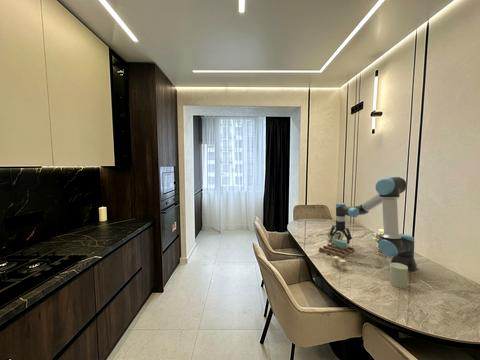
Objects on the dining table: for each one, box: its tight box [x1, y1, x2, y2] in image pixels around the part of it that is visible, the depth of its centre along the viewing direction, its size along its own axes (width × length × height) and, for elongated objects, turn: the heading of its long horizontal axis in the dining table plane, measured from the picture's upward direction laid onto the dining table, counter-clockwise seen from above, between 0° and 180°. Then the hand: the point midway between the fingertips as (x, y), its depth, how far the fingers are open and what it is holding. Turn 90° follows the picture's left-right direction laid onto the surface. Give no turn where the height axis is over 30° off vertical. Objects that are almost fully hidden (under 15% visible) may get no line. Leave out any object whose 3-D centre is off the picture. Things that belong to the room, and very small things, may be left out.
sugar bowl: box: [326, 227, 345, 242], centre depth 218 cm, size 20×15×15 cm
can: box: [388, 262, 409, 289], centre depth 137 cm, size 9×9×12 cm
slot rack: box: [317, 241, 356, 259], centre depth 192 cm, size 20×24×3 cm
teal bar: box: [334, 239, 347, 249], centre depth 196 cm, size 10×4×6 cm, turn 38°
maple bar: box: [331, 256, 347, 271], centre depth 162 cm, size 10×4×6 cm, turn 19°
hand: (340, 245), depth 196 cm, fingers open, 12 cm apart
